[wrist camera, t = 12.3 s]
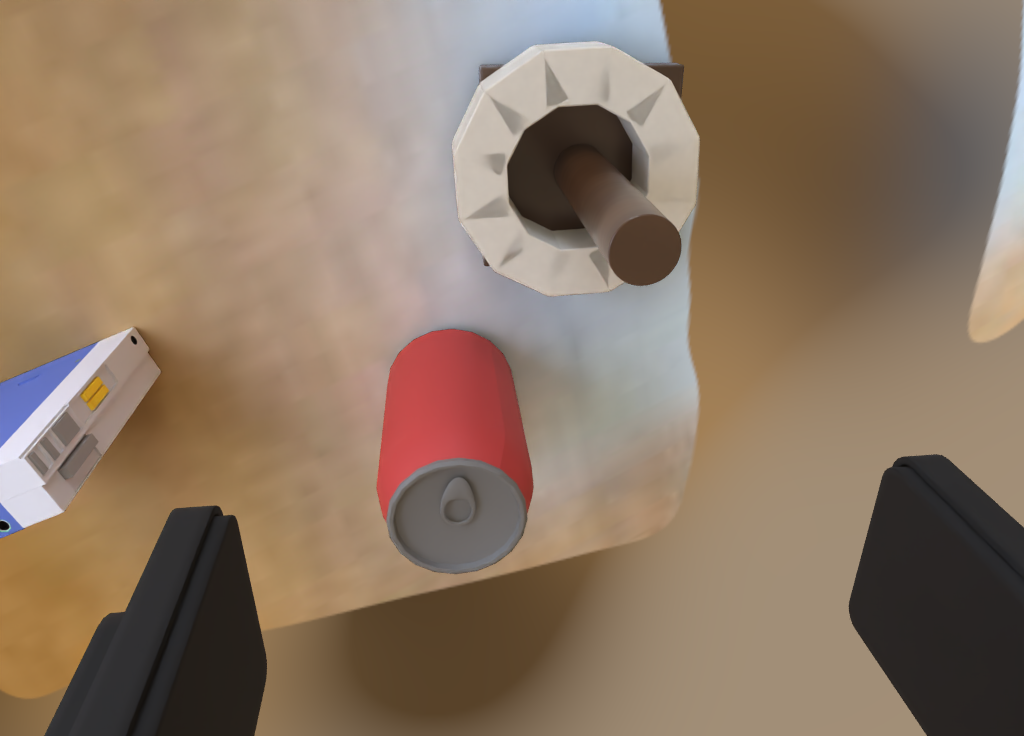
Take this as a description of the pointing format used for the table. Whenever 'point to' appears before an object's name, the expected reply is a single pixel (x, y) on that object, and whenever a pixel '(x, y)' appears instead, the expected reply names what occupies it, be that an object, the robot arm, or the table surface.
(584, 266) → the tape roll
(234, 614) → the robot arm
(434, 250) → the table surface
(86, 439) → the walkman
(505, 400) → the beer can
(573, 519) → the table surface
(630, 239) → the spindle
